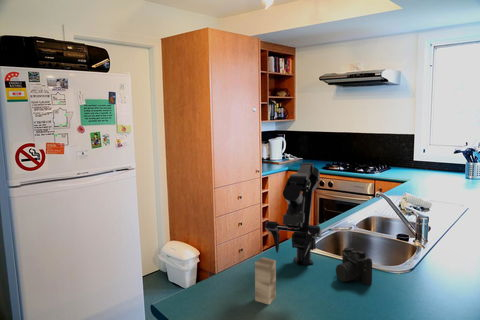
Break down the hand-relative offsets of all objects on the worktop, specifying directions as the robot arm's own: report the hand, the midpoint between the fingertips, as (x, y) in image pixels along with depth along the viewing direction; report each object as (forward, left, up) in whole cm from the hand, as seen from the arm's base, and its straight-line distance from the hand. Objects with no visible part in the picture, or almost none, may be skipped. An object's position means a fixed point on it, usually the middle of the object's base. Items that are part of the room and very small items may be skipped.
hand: (290, 254), depth 122 cm
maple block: (+4, -9, -13) cm, 17 cm away
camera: (-7, +24, -14) cm, 29 cm away
